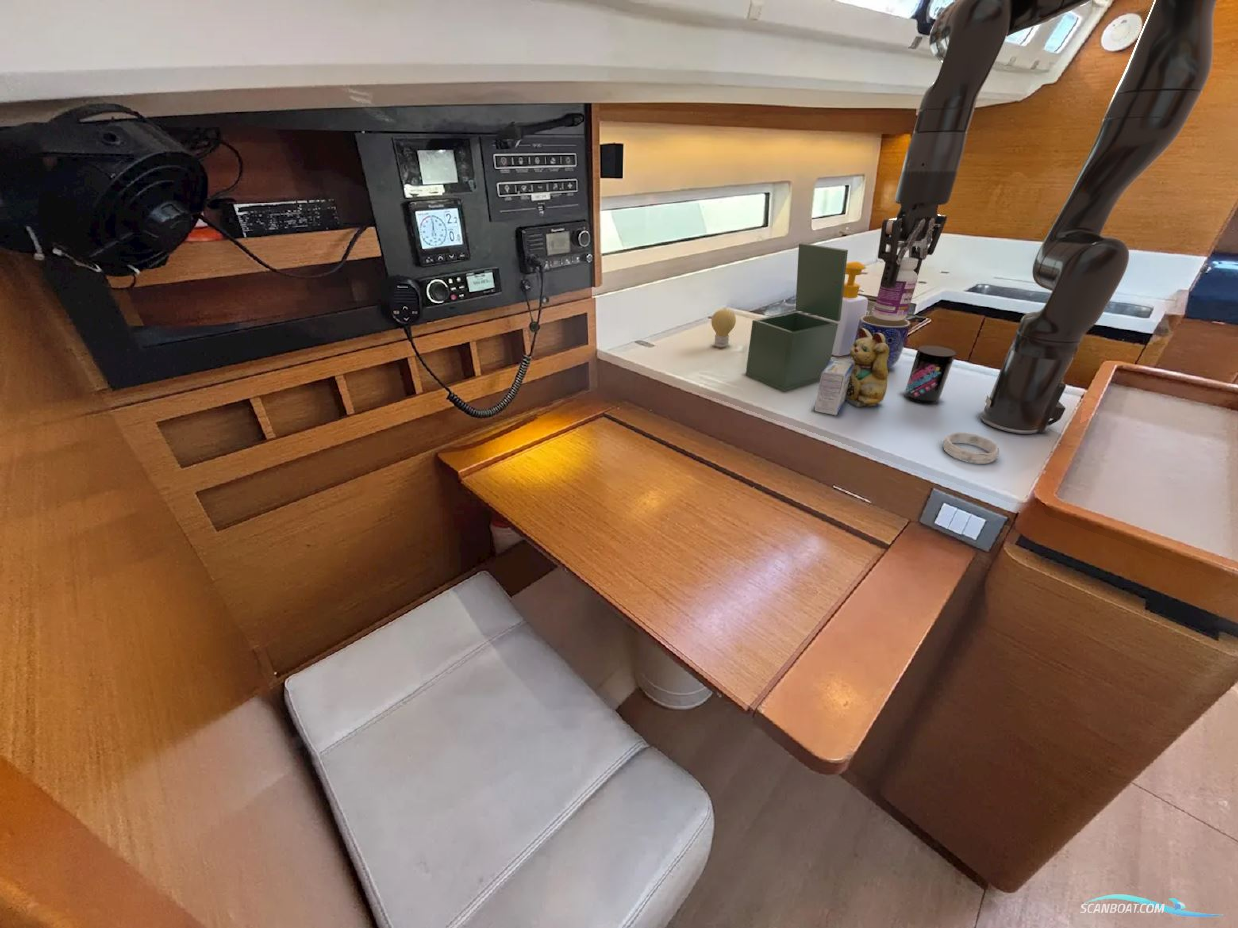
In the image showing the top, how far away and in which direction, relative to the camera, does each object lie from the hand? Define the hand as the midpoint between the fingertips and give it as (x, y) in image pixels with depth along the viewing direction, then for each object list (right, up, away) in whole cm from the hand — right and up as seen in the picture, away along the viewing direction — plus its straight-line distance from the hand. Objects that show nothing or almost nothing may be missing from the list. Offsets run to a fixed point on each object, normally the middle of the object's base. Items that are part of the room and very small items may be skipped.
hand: (898, 284), depth 84 cm
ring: (+14, -29, +2) cm, 32 cm away
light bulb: (-19, +2, +53) cm, 56 cm away
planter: (+15, -6, +39) cm, 42 cm away
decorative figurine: (+4, -17, +21) cm, 28 cm away
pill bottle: (0, -5, +3) cm, 6 cm away
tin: (-8, -10, +33) cm, 35 cm away
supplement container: (+17, -17, +22) cm, 32 cm away
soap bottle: (+10, +1, +50) cm, 51 cm away
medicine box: (-4, -19, +19) cm, 27 cm away
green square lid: (-4, +9, +25) cm, 27 cm away
